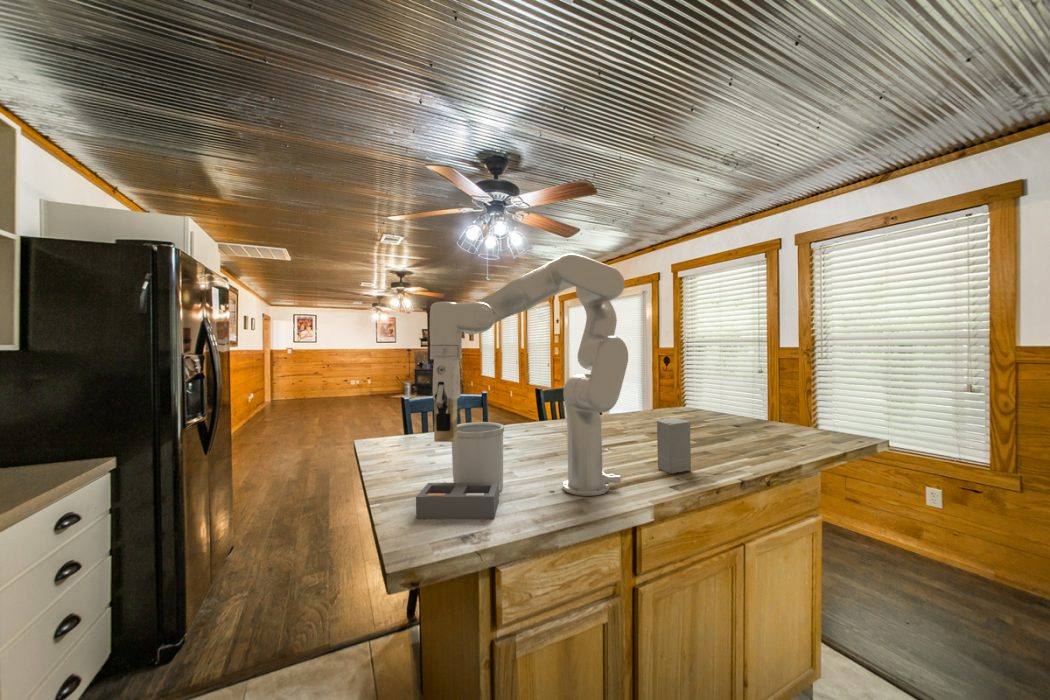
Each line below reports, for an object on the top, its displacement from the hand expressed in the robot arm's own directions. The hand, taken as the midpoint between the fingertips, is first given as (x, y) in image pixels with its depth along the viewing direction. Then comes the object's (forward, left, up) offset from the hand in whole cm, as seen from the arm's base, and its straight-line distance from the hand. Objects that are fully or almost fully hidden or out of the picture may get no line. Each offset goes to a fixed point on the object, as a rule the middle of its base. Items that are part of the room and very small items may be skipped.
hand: (445, 427), depth 96 cm
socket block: (-3, 0, -20) cm, 20 cm away
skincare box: (-65, -32, -20) cm, 75 cm away
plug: (0, 0, -3) cm, 3 cm away
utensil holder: (-5, -15, -20) cm, 26 cm away
